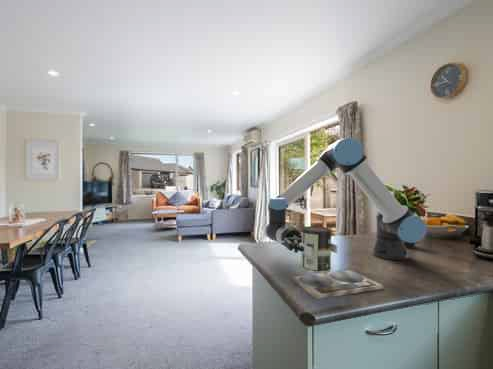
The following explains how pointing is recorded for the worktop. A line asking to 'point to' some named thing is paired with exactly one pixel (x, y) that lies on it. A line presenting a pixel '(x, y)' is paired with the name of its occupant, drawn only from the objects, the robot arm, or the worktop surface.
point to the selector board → (335, 283)
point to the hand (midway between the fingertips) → (324, 250)
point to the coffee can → (317, 249)
